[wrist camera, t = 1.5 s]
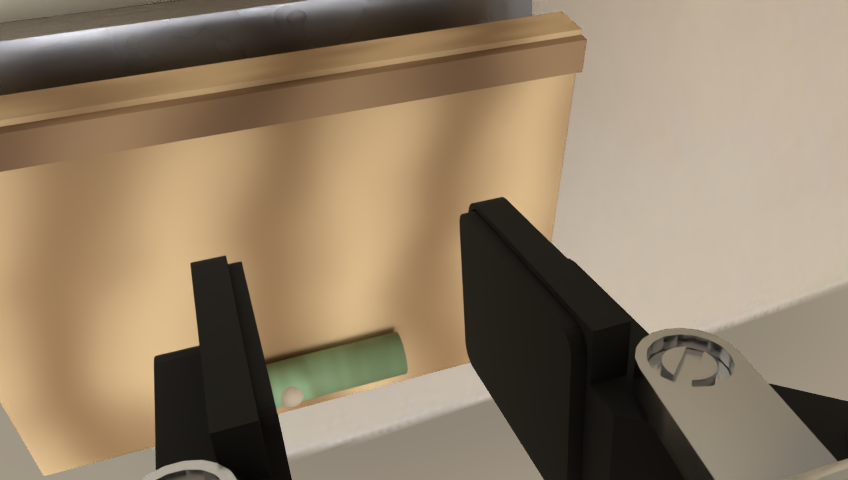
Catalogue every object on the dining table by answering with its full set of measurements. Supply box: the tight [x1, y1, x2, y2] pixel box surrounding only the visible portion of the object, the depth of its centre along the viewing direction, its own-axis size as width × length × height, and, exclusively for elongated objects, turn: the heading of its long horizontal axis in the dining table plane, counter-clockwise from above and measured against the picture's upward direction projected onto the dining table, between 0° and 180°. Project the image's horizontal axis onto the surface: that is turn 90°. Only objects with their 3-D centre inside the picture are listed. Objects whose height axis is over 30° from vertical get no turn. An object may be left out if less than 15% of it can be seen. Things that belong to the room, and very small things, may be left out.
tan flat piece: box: [0, 12, 587, 476], centre depth 28 cm, size 22×16×4 cm
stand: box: [0, 0, 532, 96], centre depth 32 cm, size 24×17×3 cm
